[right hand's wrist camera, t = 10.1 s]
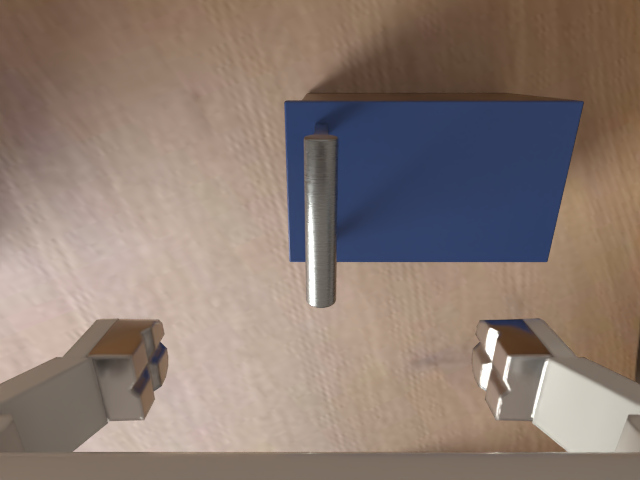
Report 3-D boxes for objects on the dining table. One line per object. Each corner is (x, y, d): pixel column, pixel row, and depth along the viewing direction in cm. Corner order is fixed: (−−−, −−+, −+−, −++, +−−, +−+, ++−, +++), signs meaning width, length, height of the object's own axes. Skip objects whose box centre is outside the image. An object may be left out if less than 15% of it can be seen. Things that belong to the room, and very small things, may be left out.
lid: (290, 257, 27) (278, 326, 20) (285, 100, 24) (268, 112, 16) (541, 257, 27) (624, 326, 20) (576, 100, 24) (695, 112, 16)
